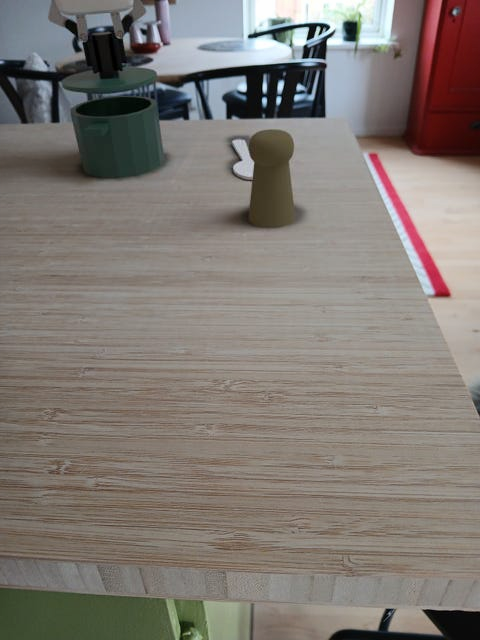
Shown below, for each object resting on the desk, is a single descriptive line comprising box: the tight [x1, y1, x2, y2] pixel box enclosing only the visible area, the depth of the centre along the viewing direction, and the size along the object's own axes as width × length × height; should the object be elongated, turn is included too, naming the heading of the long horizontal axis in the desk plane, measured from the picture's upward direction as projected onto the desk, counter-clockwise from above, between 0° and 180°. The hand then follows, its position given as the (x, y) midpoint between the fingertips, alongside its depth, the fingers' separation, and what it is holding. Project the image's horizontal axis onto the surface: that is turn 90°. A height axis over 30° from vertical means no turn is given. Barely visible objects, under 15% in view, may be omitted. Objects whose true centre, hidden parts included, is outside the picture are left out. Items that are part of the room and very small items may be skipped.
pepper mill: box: [248, 128, 296, 229], centre depth 61 cm, size 6×6×11 cm
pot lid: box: [60, 31, 158, 95], centre depth 73 cm, size 14×14×7 cm
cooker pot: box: [70, 95, 165, 179], centre depth 79 cm, size 13×18×10 cm
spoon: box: [231, 139, 254, 181], centre depth 82 cm, size 5×18×1 cm, turn 8°
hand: (108, 69), depth 73 cm, fingers closed on pot lid, 2 cm apart
